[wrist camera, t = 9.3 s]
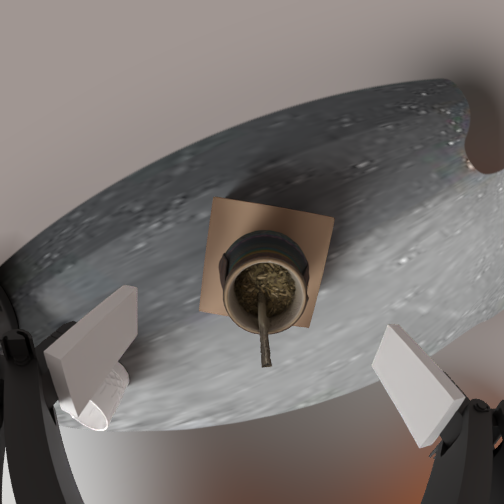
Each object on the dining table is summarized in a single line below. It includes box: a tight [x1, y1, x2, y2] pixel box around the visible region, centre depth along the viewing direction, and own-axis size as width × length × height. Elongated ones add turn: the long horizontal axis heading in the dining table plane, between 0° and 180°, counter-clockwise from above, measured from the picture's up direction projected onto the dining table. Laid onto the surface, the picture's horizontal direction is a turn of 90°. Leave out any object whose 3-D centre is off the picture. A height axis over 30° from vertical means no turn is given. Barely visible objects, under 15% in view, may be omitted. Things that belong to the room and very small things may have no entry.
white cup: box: [70, 362, 129, 431], centre depth 31 cm, size 8×8×10 cm
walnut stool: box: [199, 197, 335, 328], centre depth 28 cm, size 11×11×6 cm
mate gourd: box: [218, 230, 310, 367], centre depth 20 cm, size 7×8×10 cm
